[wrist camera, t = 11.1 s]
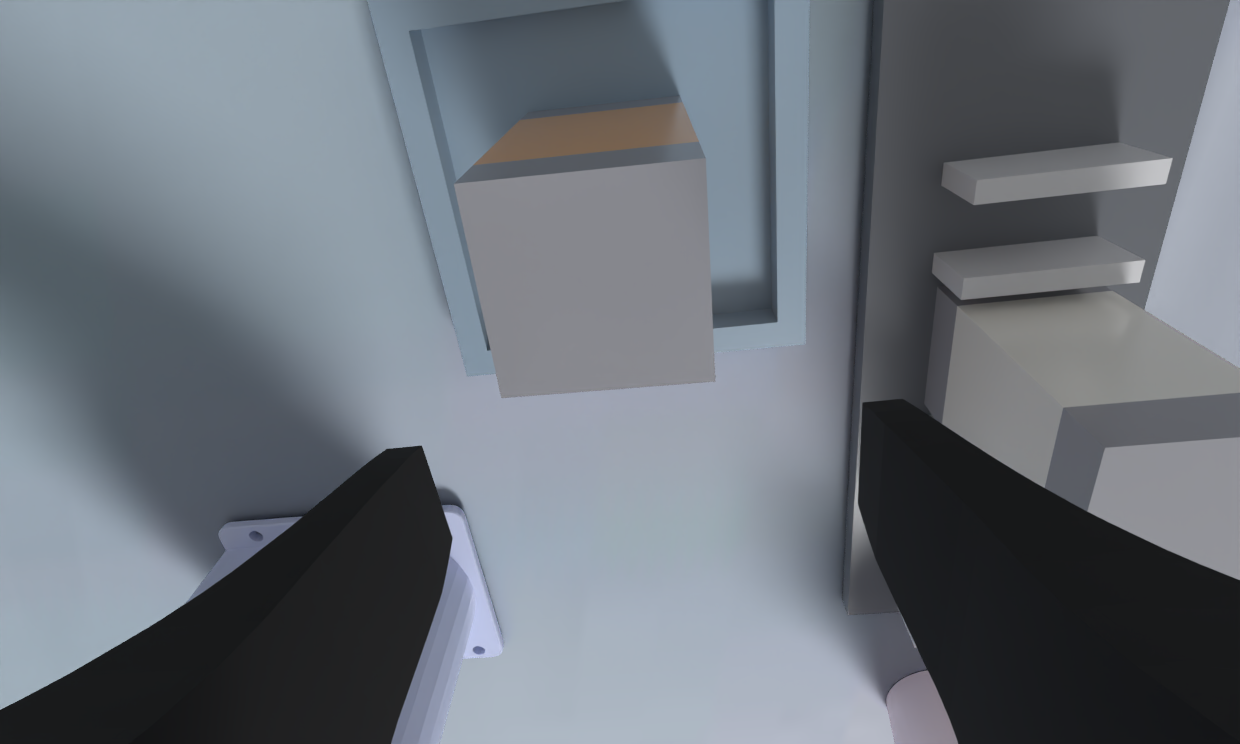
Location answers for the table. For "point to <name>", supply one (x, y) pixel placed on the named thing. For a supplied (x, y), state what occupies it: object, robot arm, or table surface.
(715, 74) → the tray
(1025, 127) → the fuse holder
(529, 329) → the block
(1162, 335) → the block
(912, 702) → the smoothie
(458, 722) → the table surface
